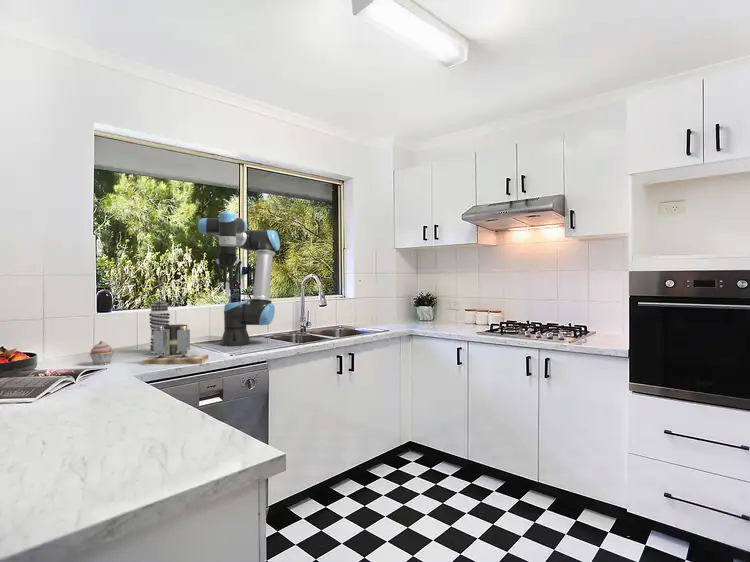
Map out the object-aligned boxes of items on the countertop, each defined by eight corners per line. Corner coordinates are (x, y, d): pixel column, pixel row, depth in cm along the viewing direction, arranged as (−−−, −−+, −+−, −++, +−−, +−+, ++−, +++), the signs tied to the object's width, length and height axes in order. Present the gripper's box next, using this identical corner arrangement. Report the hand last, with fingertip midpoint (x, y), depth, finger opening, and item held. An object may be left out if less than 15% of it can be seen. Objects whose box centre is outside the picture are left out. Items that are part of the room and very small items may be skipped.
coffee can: (192, 353, 216) (191, 324, 215) (178, 357, 206) (178, 327, 205) (173, 352, 218) (172, 324, 218) (159, 356, 208) (158, 326, 207)
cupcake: (84, 364, 190) (83, 341, 190) (106, 360, 198) (105, 338, 198) (97, 366, 185) (96, 342, 185) (119, 362, 194) (118, 339, 193)
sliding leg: (189, 355, 197) (189, 325, 197) (187, 357, 193) (186, 326, 193) (180, 355, 197) (180, 325, 197) (177, 357, 193) (177, 326, 193)
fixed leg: (166, 356, 196) (166, 326, 196) (163, 358, 192) (162, 327, 192) (157, 357, 196) (156, 326, 196) (153, 358, 192) (153, 327, 192)
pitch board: (208, 359, 201) (208, 354, 201) (202, 363, 191) (201, 358, 191) (152, 360, 198) (152, 355, 198) (143, 364, 189) (143, 359, 188)
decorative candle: (156, 354, 213) (156, 302, 213) (145, 352, 218) (145, 301, 218) (174, 351, 221) (173, 301, 221) (163, 350, 226) (162, 300, 226)
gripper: (211, 245, 201) (211, 297, 203) (240, 246, 202) (241, 297, 204) (214, 245, 208) (215, 295, 210) (243, 245, 210) (243, 295, 212)
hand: (228, 296), depth 207 cm, fingers closed
